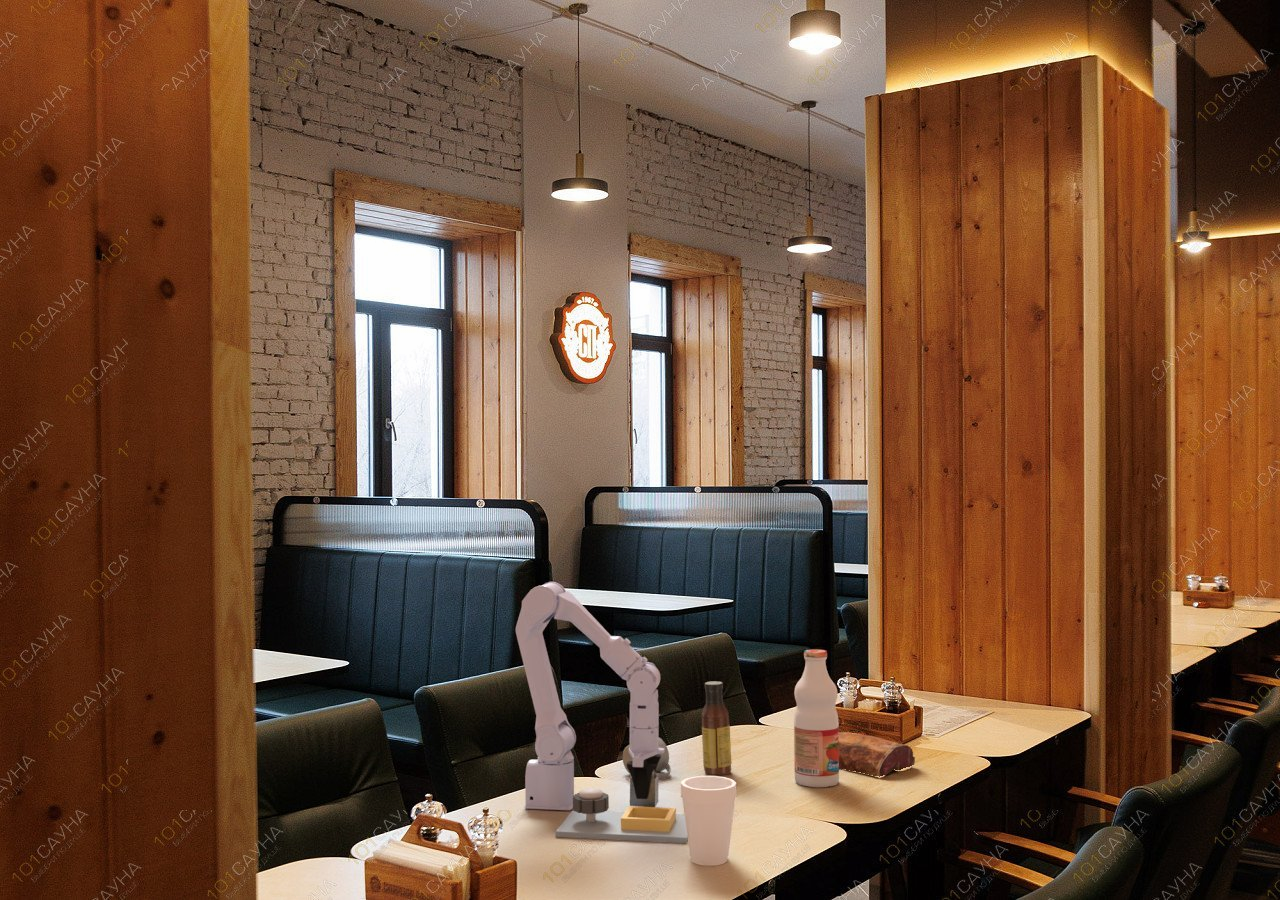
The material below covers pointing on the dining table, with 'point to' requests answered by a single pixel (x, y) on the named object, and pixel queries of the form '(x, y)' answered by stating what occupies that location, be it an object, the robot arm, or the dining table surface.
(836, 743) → the fruit juice
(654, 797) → the grey square peg
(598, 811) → the dark grey knob
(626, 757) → the ceramic mug
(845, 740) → the cured meat
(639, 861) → the dining table surface
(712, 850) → the foam cup
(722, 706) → the sauce bottle
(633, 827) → the plate
